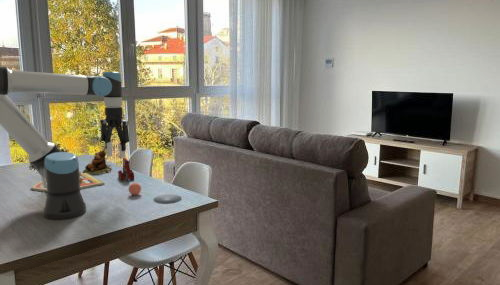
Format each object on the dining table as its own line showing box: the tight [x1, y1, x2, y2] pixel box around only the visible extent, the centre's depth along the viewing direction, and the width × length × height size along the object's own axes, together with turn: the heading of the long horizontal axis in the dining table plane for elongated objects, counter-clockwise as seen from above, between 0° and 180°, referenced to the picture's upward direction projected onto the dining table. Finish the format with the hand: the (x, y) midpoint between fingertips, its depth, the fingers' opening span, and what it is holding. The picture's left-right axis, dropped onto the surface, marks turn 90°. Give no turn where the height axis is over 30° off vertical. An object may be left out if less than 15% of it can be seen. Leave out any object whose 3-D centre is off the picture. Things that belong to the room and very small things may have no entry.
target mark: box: [153, 193, 182, 204], centre depth 167 cm, size 12×12×1 cm
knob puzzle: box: [31, 170, 105, 193], centre depth 187 cm, size 29×30×4 cm
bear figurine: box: [82, 149, 112, 175], centre depth 211 cm, size 14×15×12 cm
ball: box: [128, 182, 142, 196], centre depth 172 cm, size 6×6×6 cm
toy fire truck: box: [117, 157, 135, 182], centre depth 197 cm, size 7×12×10 cm, turn 27°
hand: (115, 157), depth 172 cm, fingers open, 6 cm apart
